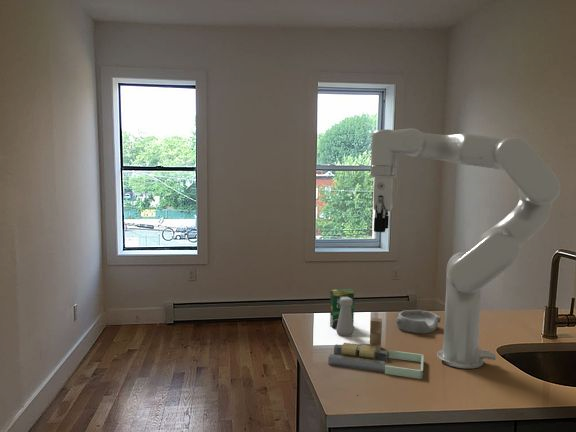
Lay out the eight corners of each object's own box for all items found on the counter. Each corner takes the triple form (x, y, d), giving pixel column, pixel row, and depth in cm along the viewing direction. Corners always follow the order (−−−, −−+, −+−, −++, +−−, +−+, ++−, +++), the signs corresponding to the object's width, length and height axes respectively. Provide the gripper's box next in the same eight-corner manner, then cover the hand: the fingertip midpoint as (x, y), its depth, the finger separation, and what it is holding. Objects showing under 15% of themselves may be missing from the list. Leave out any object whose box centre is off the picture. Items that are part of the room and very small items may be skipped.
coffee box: (331, 328, 162) (332, 291, 161) (329, 325, 165) (330, 289, 164) (353, 327, 164) (355, 290, 163) (350, 324, 167) (352, 288, 166)
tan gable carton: (381, 350, 143) (382, 318, 142) (379, 355, 139) (380, 322, 138) (371, 348, 144) (372, 317, 143) (369, 354, 140) (370, 321, 139)
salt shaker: (353, 340, 151) (354, 300, 150) (335, 338, 152) (336, 299, 151) (354, 334, 157) (355, 296, 155) (337, 333, 158) (338, 294, 157)
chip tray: (423, 364, 133) (423, 354, 133) (422, 382, 121) (422, 371, 121) (388, 360, 136) (389, 350, 135) (384, 377, 124) (385, 366, 124)
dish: (442, 327, 167) (443, 313, 167) (431, 338, 155) (432, 323, 155) (402, 319, 175) (403, 306, 174) (389, 329, 163) (389, 315, 163)
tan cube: (357, 357, 134) (358, 344, 134) (355, 363, 130) (355, 349, 130) (343, 356, 135) (344, 342, 135) (341, 361, 131) (341, 347, 131)
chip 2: (375, 360, 133) (375, 346, 132) (373, 365, 129) (374, 351, 128) (361, 358, 134) (361, 344, 133) (358, 363, 130) (359, 349, 130)
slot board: (386, 361, 135) (387, 351, 134) (383, 375, 125) (383, 364, 125) (335, 354, 139) (335, 344, 139) (328, 367, 130) (328, 356, 129)
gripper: (394, 172, 129) (391, 234, 131) (398, 172, 146) (396, 227, 147) (366, 171, 131) (364, 232, 133) (374, 172, 148) (372, 226, 149)
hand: (381, 230), depth 140 cm, fingers open, 9 cm apart
